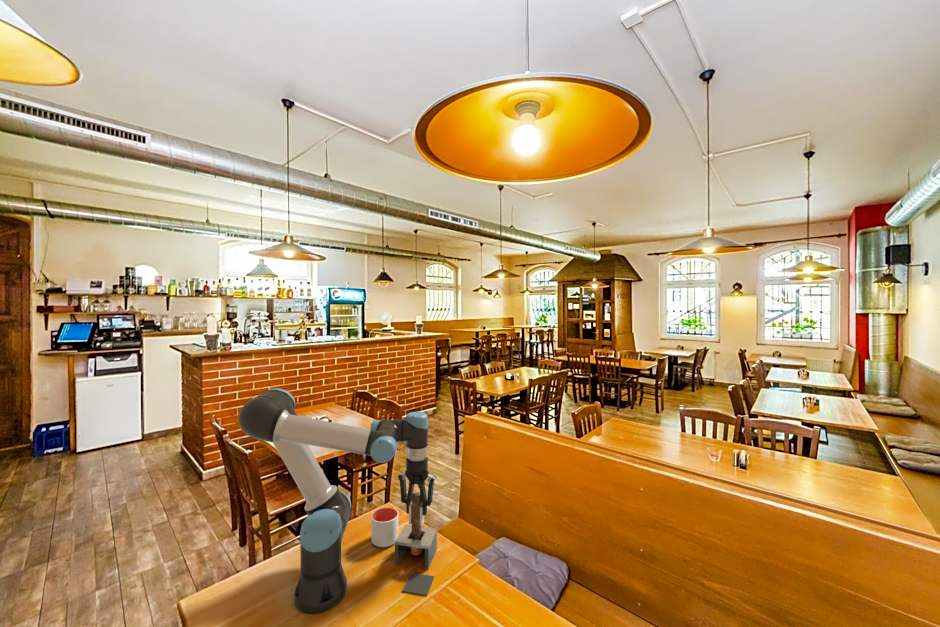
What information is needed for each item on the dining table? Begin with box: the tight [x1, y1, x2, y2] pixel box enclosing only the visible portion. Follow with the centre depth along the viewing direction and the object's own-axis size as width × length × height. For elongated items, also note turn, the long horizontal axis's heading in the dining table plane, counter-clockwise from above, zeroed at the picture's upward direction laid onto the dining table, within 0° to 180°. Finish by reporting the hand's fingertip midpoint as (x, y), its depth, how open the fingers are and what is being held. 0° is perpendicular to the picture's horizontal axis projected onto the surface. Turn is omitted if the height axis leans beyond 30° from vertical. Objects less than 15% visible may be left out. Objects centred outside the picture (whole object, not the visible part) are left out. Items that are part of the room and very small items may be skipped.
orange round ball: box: [410, 538, 423, 556], centre depth 133 cm, size 4×4×4 cm
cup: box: [370, 506, 399, 548], centre depth 142 cm, size 10×10×10 cm
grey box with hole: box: [394, 524, 438, 570], centre depth 133 cm, size 12×10×8 cm
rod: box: [411, 492, 422, 540], centre depth 133 cm, size 3×3×16 cm
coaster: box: [401, 572, 435, 597], centre depth 121 cm, size 8×8×1 cm
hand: (416, 522), depth 133 cm, fingers closed on rod, 3 cm apart
